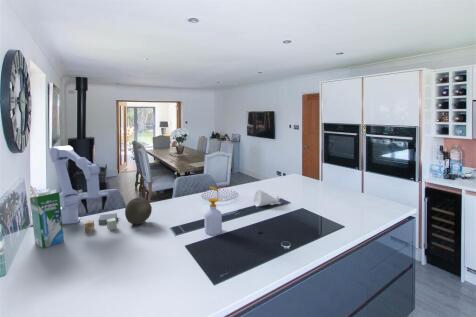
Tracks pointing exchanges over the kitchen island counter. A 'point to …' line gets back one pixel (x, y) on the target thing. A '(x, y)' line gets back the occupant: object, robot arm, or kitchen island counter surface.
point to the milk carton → (47, 219)
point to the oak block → (89, 226)
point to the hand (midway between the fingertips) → (95, 211)
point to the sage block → (111, 224)
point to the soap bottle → (213, 218)
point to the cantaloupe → (138, 211)
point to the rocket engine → (265, 199)
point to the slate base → (104, 218)
